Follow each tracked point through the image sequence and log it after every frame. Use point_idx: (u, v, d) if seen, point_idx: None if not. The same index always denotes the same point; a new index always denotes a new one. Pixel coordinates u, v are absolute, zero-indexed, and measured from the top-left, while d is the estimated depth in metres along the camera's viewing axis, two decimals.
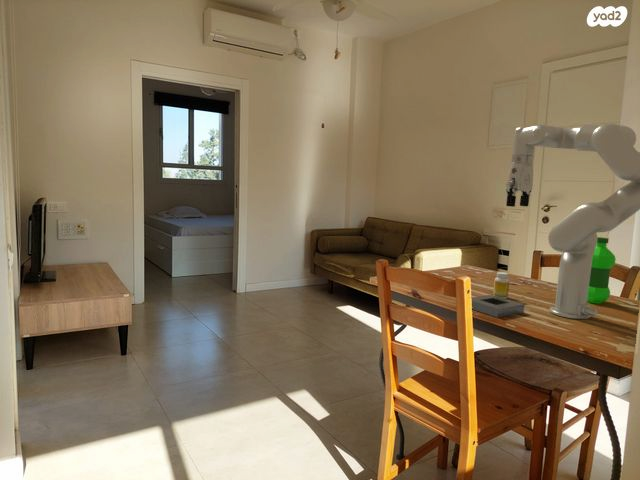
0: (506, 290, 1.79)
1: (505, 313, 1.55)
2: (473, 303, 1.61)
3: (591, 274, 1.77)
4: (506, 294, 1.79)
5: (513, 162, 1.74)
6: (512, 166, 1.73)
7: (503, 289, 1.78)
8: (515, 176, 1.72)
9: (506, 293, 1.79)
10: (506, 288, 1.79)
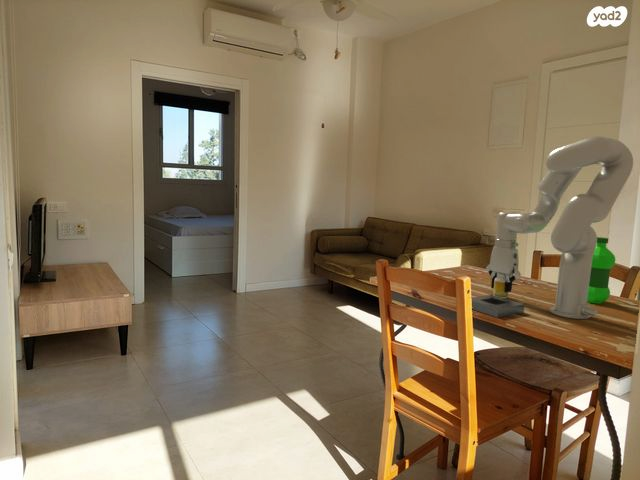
0: None
1: (505, 313, 1.55)
2: (473, 303, 1.61)
3: (591, 274, 1.77)
4: (506, 294, 1.79)
5: (510, 247, 1.75)
6: (512, 252, 1.75)
7: (503, 289, 1.78)
8: (516, 261, 1.76)
9: (506, 293, 1.79)
10: None
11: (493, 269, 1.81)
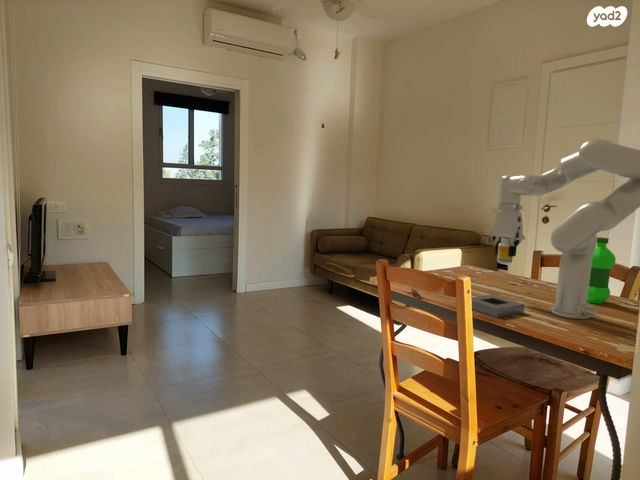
0: None
1: (505, 313, 1.55)
2: (473, 303, 1.61)
3: (591, 274, 1.77)
4: (511, 259, 1.77)
5: (514, 210, 1.73)
6: (516, 215, 1.73)
7: (507, 254, 1.76)
8: (520, 224, 1.74)
9: (510, 258, 1.77)
10: None
11: (497, 234, 1.79)
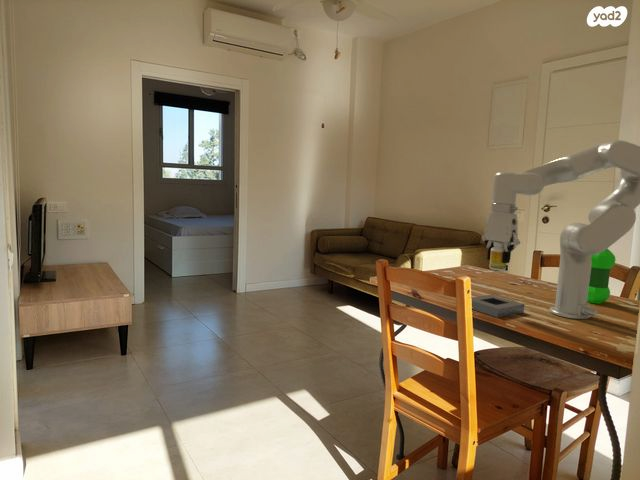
0: None
1: (505, 313, 1.55)
2: (473, 303, 1.61)
3: (591, 274, 1.77)
4: (504, 266, 1.59)
5: (508, 212, 1.55)
6: (511, 217, 1.54)
7: (500, 260, 1.58)
8: (515, 228, 1.55)
9: (504, 264, 1.59)
10: None
11: (489, 238, 1.61)
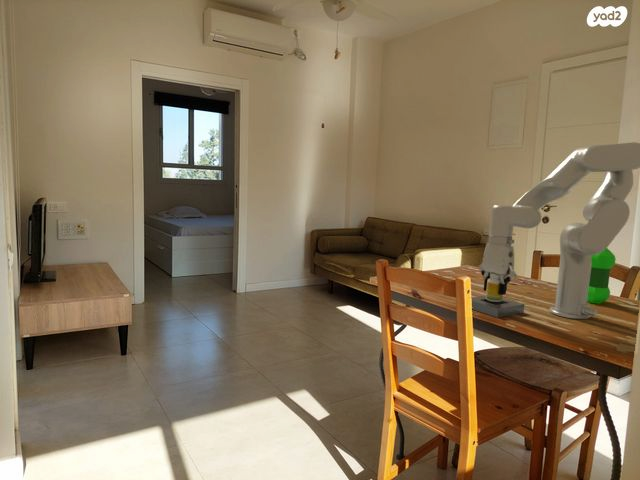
0: None
1: (505, 313, 1.55)
2: (473, 303, 1.61)
3: (591, 274, 1.77)
4: (500, 297, 1.60)
5: (505, 245, 1.56)
6: (507, 249, 1.56)
7: (496, 292, 1.59)
8: (512, 260, 1.57)
9: (500, 296, 1.60)
10: None
11: (486, 269, 1.62)
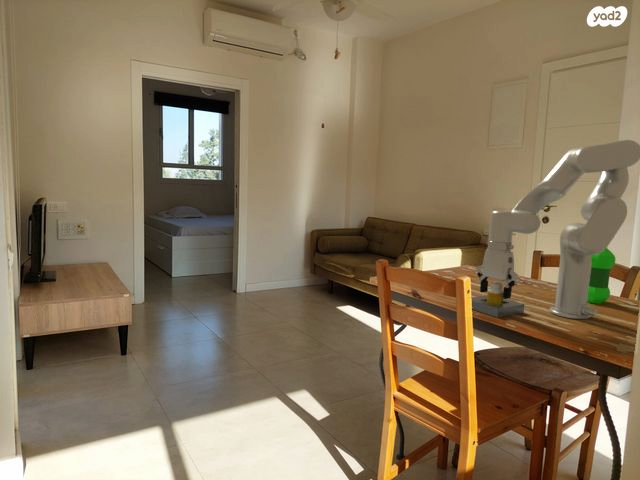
0: (500, 302, 1.60)
1: (505, 313, 1.55)
2: (473, 303, 1.61)
3: (591, 274, 1.77)
4: None
5: (504, 250, 1.56)
6: (507, 255, 1.56)
7: (497, 301, 1.60)
8: (511, 266, 1.57)
9: None
10: (500, 300, 1.60)
11: (486, 274, 1.62)
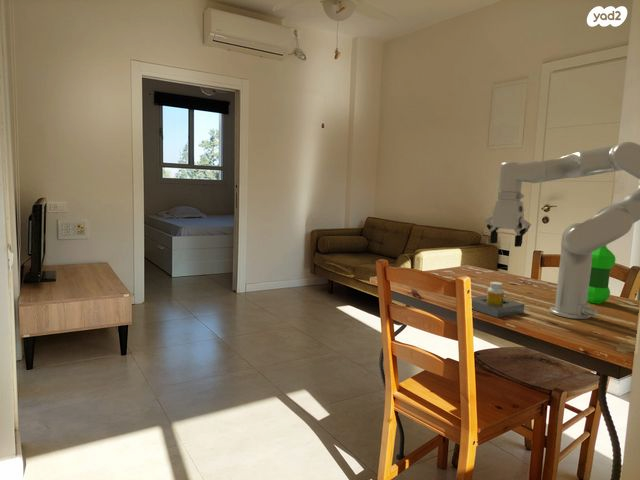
0: (500, 302, 1.60)
1: (505, 313, 1.55)
2: (473, 303, 1.61)
3: (591, 274, 1.77)
4: None
5: (515, 199, 1.61)
6: (517, 204, 1.61)
7: (497, 301, 1.60)
8: (522, 214, 1.62)
9: None
10: (500, 300, 1.60)
11: (496, 225, 1.67)
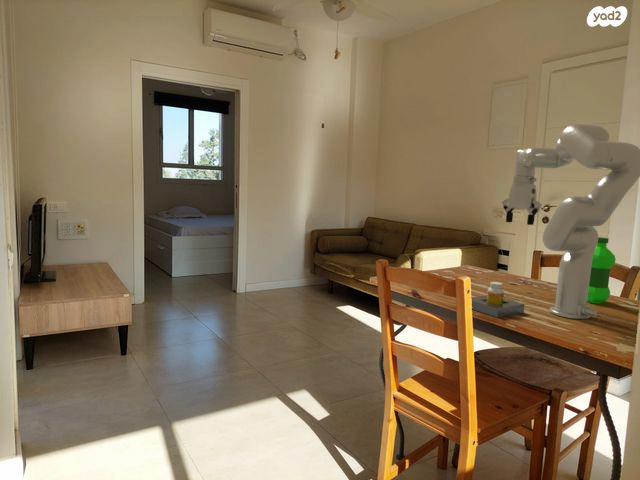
0: (500, 302, 1.60)
1: (505, 313, 1.55)
2: (473, 303, 1.61)
3: (591, 274, 1.77)
4: None
5: (528, 183, 1.82)
6: (530, 187, 1.82)
7: (497, 301, 1.60)
8: (534, 196, 1.83)
9: None
10: (500, 300, 1.60)
11: (511, 206, 1.88)
